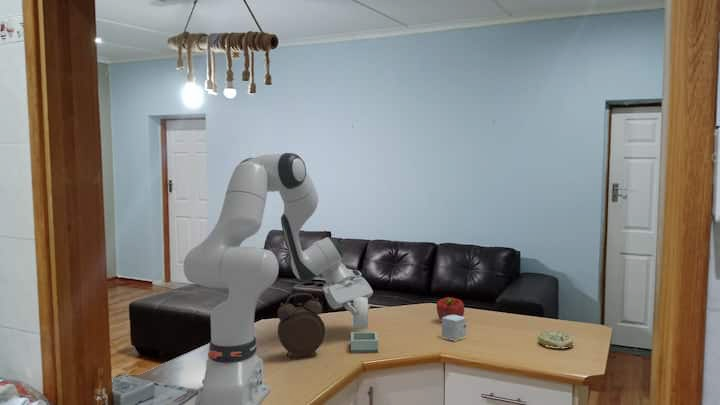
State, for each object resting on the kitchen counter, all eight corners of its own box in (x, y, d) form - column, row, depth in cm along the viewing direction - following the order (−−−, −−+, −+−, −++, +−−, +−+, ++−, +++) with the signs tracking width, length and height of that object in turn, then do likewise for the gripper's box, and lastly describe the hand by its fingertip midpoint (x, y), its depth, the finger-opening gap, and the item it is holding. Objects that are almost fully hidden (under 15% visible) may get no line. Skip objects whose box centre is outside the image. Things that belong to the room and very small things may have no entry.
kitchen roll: (368, 329, 179) (367, 300, 178) (353, 329, 179) (353, 300, 178) (367, 325, 184) (367, 296, 183) (353, 325, 184) (353, 296, 183)
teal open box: (377, 352, 167) (377, 340, 167) (351, 353, 167) (350, 340, 167) (376, 343, 176) (376, 331, 176) (351, 343, 176) (351, 332, 176)
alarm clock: (319, 348, 172) (318, 288, 170) (326, 356, 165) (325, 293, 163) (275, 355, 166) (274, 293, 165) (280, 363, 160) (279, 298, 158)
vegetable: (463, 327, 192) (463, 300, 192) (435, 325, 195) (435, 299, 194) (464, 319, 203) (464, 293, 202) (437, 317, 205) (437, 292, 205)
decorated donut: (565, 353, 166) (565, 341, 165) (532, 346, 173) (532, 334, 172) (577, 344, 173) (577, 333, 173) (545, 337, 180) (545, 327, 180)
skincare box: (455, 342, 177) (455, 320, 176) (441, 338, 181) (441, 317, 181) (466, 338, 181) (466, 317, 180) (452, 334, 185) (452, 313, 185)
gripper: (324, 279, 176) (347, 313, 171) (362, 270, 192) (384, 300, 187) (315, 291, 179) (337, 324, 174) (353, 280, 195) (374, 311, 190)
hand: (362, 312), depth 180 cm, fingers closed on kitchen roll, 5 cm apart
